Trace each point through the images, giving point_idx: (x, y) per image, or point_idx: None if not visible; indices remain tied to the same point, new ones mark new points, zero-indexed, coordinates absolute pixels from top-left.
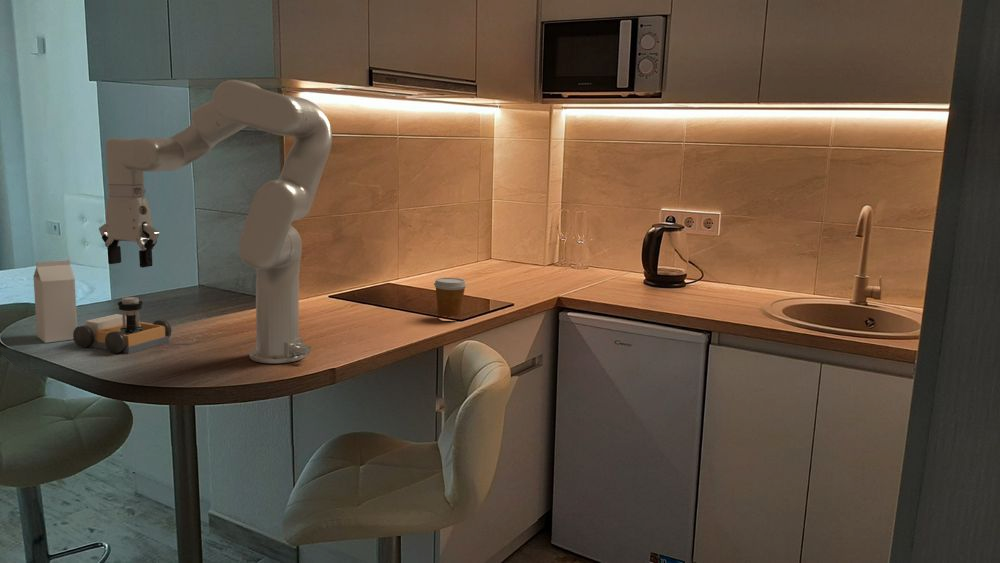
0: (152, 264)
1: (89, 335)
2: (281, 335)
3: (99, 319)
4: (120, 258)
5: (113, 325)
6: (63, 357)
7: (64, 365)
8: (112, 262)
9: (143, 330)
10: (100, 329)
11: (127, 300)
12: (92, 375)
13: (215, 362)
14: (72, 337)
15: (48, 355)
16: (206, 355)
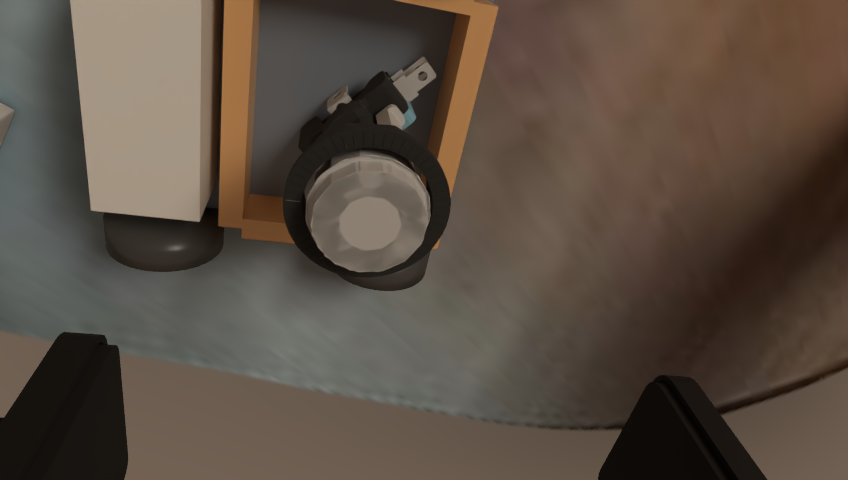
0: (696, 383)
1: (218, 249)
2: None
3: (126, 149)
4: (93, 391)
5: (207, 104)
6: (245, 335)
7: (327, 389)
8: (123, 465)
9: None
10: (220, 202)
11: (387, 265)
12: (475, 417)
13: (792, 193)
14: (3, 135)
15: (172, 337)
16: (739, 125)
